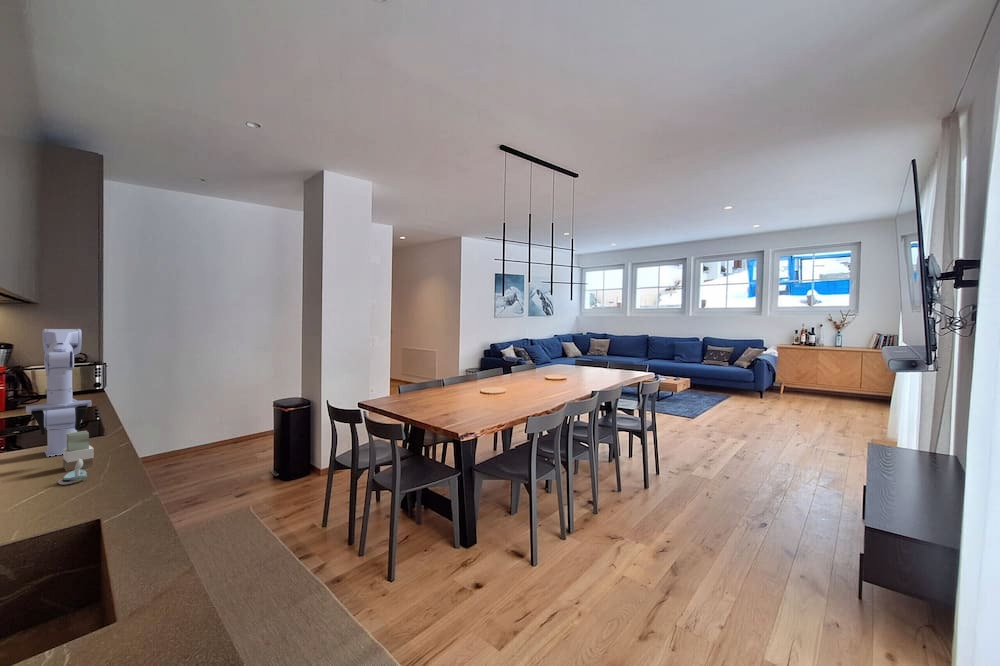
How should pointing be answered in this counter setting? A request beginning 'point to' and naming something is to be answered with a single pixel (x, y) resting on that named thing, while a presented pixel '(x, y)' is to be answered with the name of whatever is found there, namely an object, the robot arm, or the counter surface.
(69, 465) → the base slab
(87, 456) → the top slab
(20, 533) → the counter surface
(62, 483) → the pacifier
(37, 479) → the counter surface
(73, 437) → the green block
